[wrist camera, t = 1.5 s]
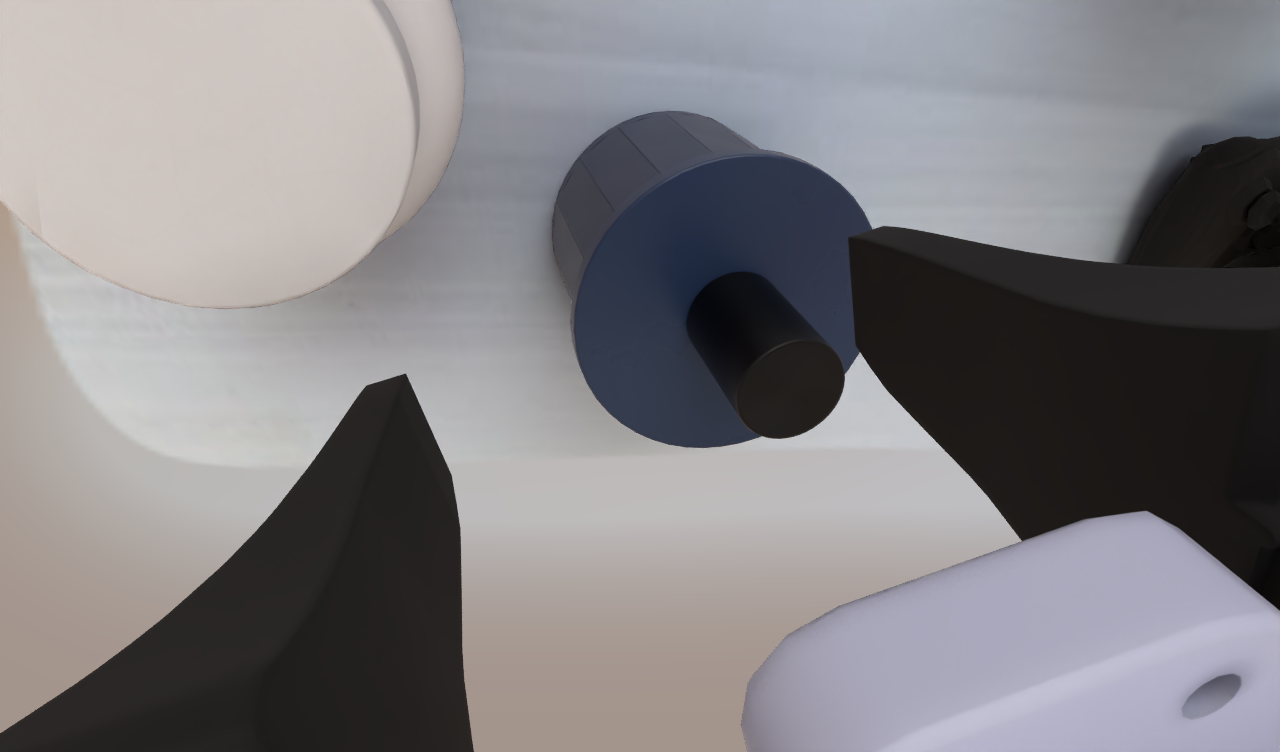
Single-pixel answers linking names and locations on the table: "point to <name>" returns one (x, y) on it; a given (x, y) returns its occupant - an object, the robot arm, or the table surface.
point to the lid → (721, 300)
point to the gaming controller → (1217, 208)
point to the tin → (626, 174)
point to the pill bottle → (224, 136)
